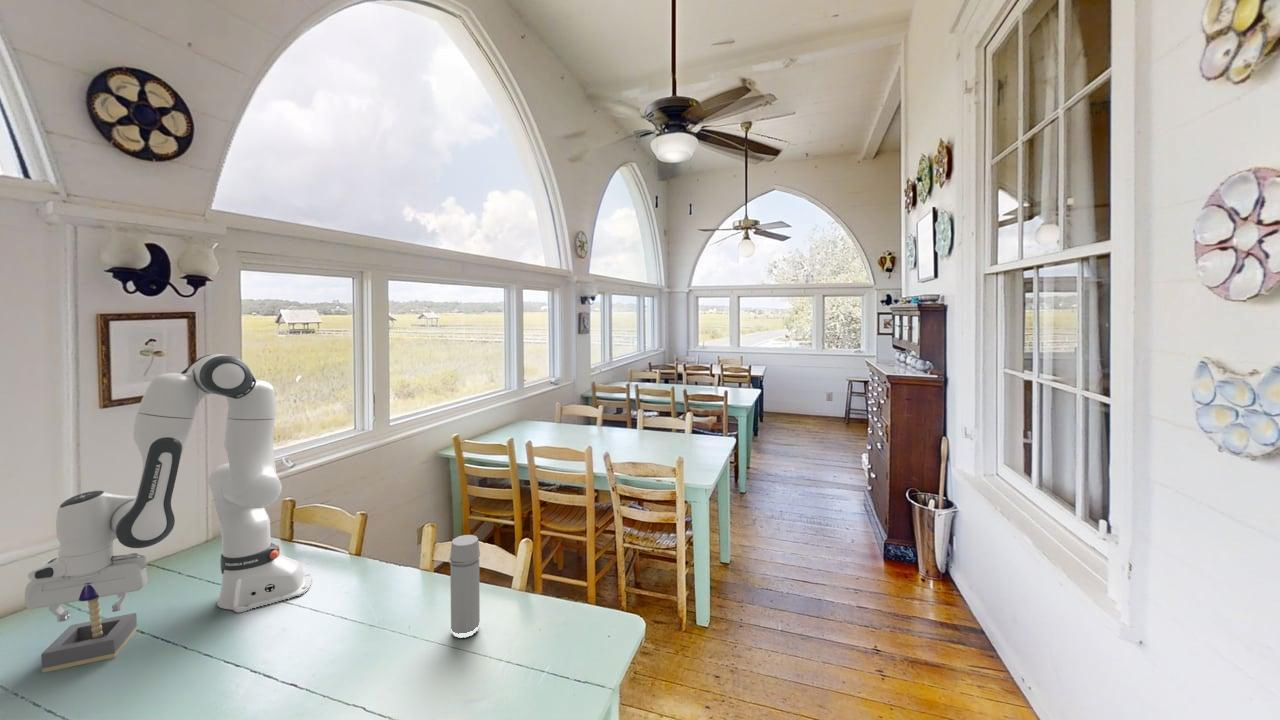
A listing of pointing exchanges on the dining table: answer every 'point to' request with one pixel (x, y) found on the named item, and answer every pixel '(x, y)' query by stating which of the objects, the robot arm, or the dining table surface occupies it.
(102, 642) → the socket block
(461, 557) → the water bottle
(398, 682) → the dining table surface
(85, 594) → the toy lamp
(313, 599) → the dining table surface
